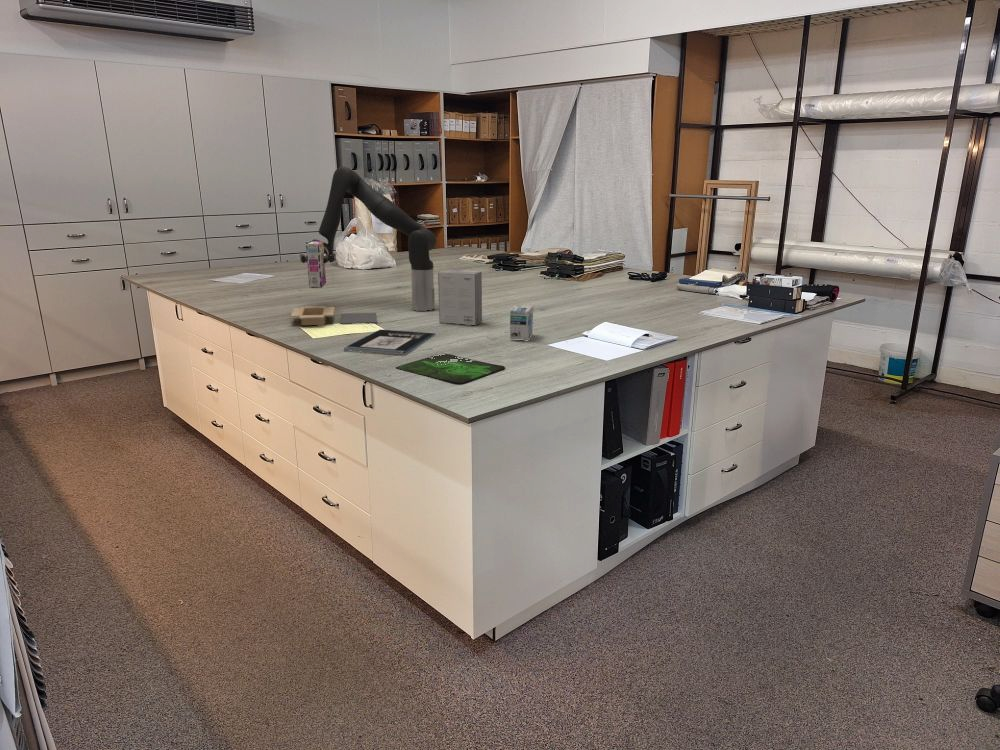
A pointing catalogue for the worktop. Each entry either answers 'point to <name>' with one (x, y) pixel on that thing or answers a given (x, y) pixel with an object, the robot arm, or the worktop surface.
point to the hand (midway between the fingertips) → (316, 260)
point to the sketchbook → (390, 342)
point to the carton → (313, 314)
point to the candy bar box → (316, 264)
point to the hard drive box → (460, 297)
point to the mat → (358, 318)
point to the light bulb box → (521, 322)
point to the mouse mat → (451, 369)
